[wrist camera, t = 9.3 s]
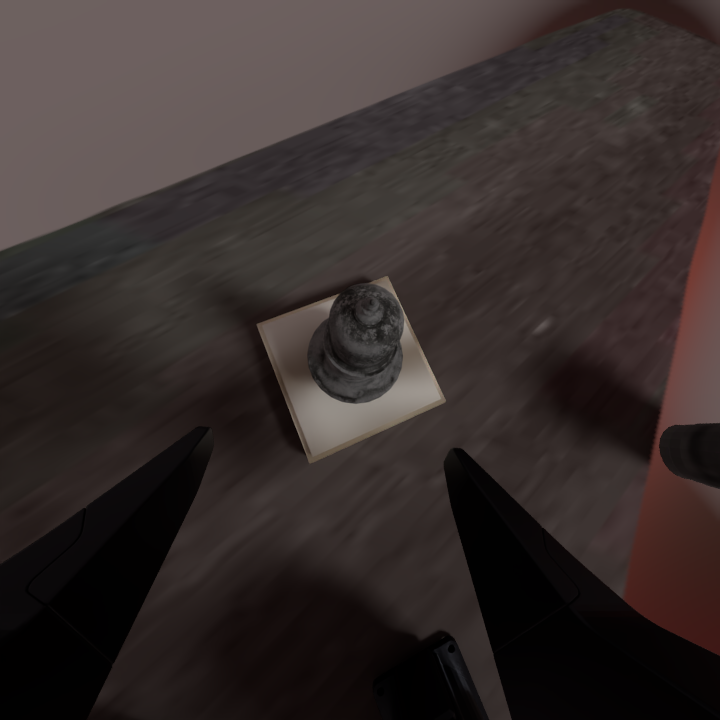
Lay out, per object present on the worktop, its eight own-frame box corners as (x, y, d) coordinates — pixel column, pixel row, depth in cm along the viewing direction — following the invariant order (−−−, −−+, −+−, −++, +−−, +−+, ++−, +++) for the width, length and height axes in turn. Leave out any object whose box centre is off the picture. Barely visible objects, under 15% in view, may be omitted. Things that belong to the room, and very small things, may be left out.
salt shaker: (337, 419, 19) (335, 439, 7) (298, 349, 20) (238, 262, 8) (406, 379, 20) (503, 337, 8) (366, 313, 21) (404, 187, 9)
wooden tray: (436, 402, 22) (448, 401, 20) (312, 458, 21) (309, 465, 18) (383, 287, 24) (388, 273, 21) (263, 331, 22) (254, 322, 20)
